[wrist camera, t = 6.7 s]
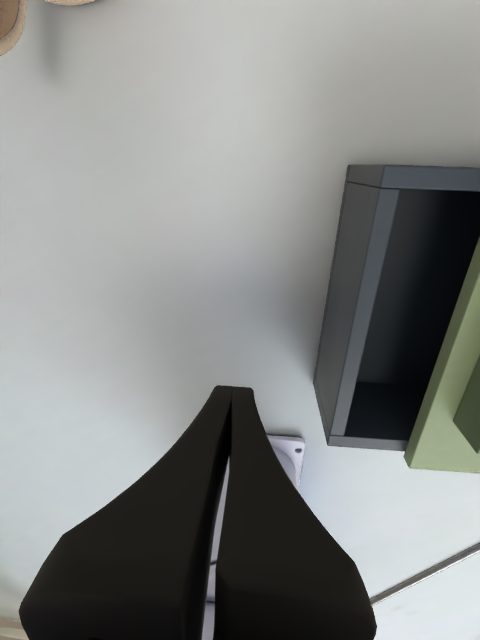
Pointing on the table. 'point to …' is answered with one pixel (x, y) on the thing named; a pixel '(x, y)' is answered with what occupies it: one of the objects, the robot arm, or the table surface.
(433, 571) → the rod
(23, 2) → the teacup with lid
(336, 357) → the bin
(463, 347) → the lid
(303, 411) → the table surface
